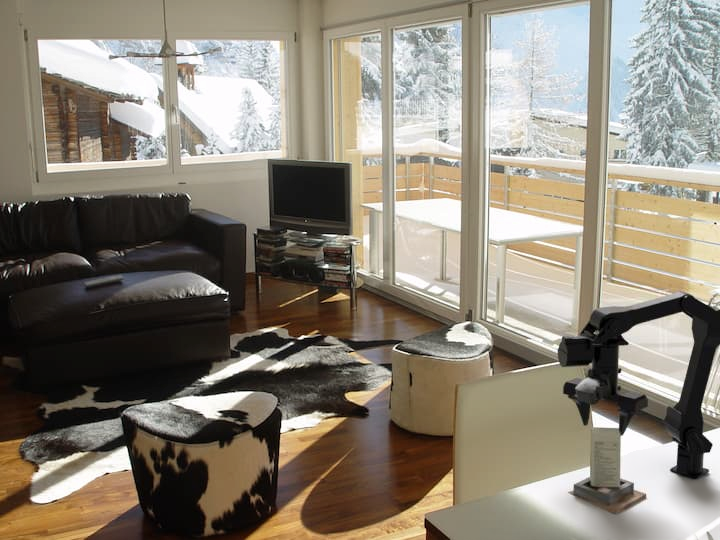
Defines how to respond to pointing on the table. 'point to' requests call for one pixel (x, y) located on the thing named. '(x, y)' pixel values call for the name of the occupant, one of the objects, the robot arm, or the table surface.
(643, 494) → the holder
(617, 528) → the table surface
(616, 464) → the skincare box
